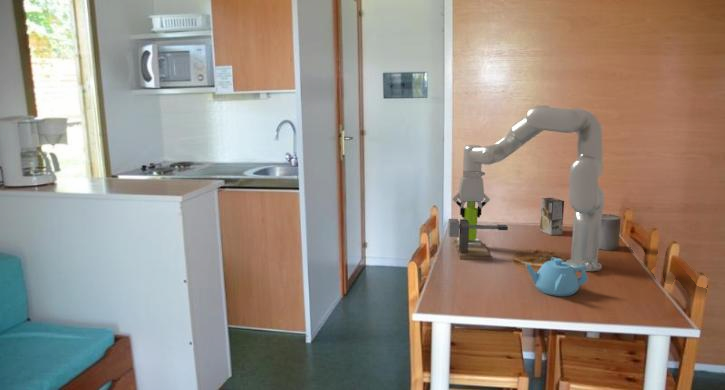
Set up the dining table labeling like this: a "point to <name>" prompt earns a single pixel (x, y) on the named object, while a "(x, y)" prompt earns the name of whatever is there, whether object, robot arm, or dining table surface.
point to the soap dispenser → (471, 218)
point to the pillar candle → (609, 232)
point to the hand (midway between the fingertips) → (470, 216)
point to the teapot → (558, 277)
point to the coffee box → (552, 216)
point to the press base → (469, 244)
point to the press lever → (454, 227)
